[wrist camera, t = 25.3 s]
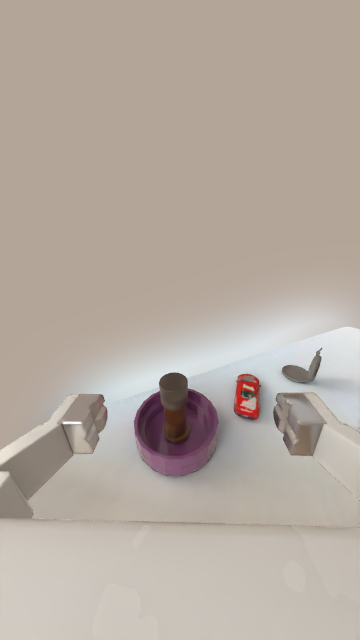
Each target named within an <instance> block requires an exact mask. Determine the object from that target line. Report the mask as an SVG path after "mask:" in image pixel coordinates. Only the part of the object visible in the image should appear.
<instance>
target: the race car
mask: <svg viewBox="0 0 360 640" xmlns="http://www.w3.org/2000/svg"><path fill="white" fill-rule="evenodd" d="M236 382H237V388H236V396H235V403H234V411H235V413H236V414H237V415H239V416H241V417H244V418H248V419H252V420H253V419H257V418H258V415H259V409H260V404H259V387H261V385H259V380H258V379H257V378H256V377H254V376H253V375H250V374H242V375H239V376H238V380H237V381H236Z"/></svg>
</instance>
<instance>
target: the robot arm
mask: <svg viewBox="0 0 360 640" xmlns="http://www.w3.org/2000/svg"><path fill="white" fill-rule="evenodd" d="M104 401H105V400H104V397H103V395H101V394H70V395H68V396H67V397H66V398H65V400H64V401H63V402H62V404H61V405H60V406H59V407H58V409H57V410H56V411H55V412H54V414H53V415H52V416H51V418H50V419H49V420H48V421H47V423H46V424H41V425H40V426H38V427H36V428H35V429H33V430H31V431H30V432H28V433H27V434H25V435H24V436H22V437H21V438H19V439H17V440H16V441H14V442H13V443H11V444H9V445H8V446H6V447H5V448H3V449H2V450H0V640H360V527H339V526H301V525H263V524H225V523H186V522H147V521H108V520H68V519H31V518H32V516H33V509H32V508H31V506H30V505H29V503H28V501H27V500H28V499H29V498H30V497H31V496H32V495H33V494H34V493H36V492H37V491H38V490H39V489H40V488H41V487H42V486H43V485H44V484H45V483H46V482H47V481H48V480H49V479H50V478H51V477H52V476H53V475H54V474H55V473H56V472H57V471H58V470H59V469H60V468H61V467H62V466H63V465H64V464H65V463H66V462H67V461H68V460H69V459H70V458H71V457H72V456H73V454H92V453H93V452H94V449H95V447H96V445H97V443H98V441H99V435H98V434H99V433H100V432H101V431H102V430H103V429H104V427H105V425H106V421H107V408H106V407H105V406H104V405H103V403H104ZM276 401H277V403H278V404H277V405H276V406H275V407H274V412H273V414H274V420H275V424H276V426H277V428H278V430H279V431H281V432H282V433H283V434H284V437H283V440H284V442H285V444H286V446H287V448H288V450H289V452H290V454H291V455H299V456H313V458H314V459H315V460H316V461H317V462H318V463H319V464H320V465H321V466H323V467H324V468H325V469H326V470H327V471H328V472H329V473H330V474H331V475H332V476H333V477H334V478H335V479H337V480H338V481H339V482H340V483H341V484H342V485H343V486H344V487H345V488H346V489H347V490H348V491H349V492H350V493H352V494H353V495H354V496H355V497H356V498H357V499H358V500H359V501H360V432H358V431H357V430H355V429H353V428H352V427H350V426H348V425H347V424H341V422H340V421H339V420H338V419H337V418H336V417H335V416H334V414H333V413H332V412H331V411H330V410H329V409H328V407H327V406H326V405H325V404H324V403H323V402H322V400H321V399H320V398H319V397H318V396H317V395H316V394H315V393H313V392H307V393H278V394H277V396H276Z"/></svg>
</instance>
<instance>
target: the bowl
mask: <svg viewBox="0 0 360 640" xmlns="http://www.w3.org/2000/svg"><path fill="white" fill-rule="evenodd" d="M186 420H187V421H188V423H189V426H190V434H189V437H188V439H187V440H186V441H185V442H183V443H181V444H177V445H175V444H170V443H169V442H167V441H166V440H165V438H164V436H163V425H164V423H165V415H164V407H163V405H162V404H161V397H160V391H159V392H157V393H155V394H153V395H151V396H150V397H149V398H148V399H146V400H145V401H144V402H143V403H142V405H141V406H140V408H139V409H138V411H137V414H136V417H135V420H134V429H135V437H136V443H137V448H138V451H139V453H140V455H141V457H142V459H143V461H144V462H145V463H146V464H147V465H148V466H150V467H151V468H152V469H153V470H154V471H157V472H159V473H162V474H164V475H167V476H183V475H186V474H189V473H191V472H194V471H197V470H198V469H199V468H201V467H202V466H203V465H204V464H205V463H207V462H208V461H209V459H210V457H211V456H212V454H213V452H214V451H215V447H216V442H217V435H218V418H217V412H216V410H215V408H214V406H213V405H212V403H211V401H209V400H208V399H207V398H206V397H205V396H204V395H203V394H201V393H199V392H197V391H195V390H192V389H188V402H187V404H186Z"/></svg>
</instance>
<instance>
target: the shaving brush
mask: <svg viewBox="0 0 360 640" xmlns="http://www.w3.org/2000/svg"><path fill="white" fill-rule="evenodd" d="M159 386H160V397H161V404H162V405H163V407H164V415H165V423H164V425H163V436H164V438H165V440H166V441H167V442H169V443H170V444H175V445H177V444H181V443H183V442H185V441H186V440H187V439H188V437H189V434H190V426H189V423H188V421H187V420H186V404H187V402H188V381H187V378H186V377H185V376H184V375H182V374H180V373H169V374H166V375H164V376H163V377H162V378H161V379H160V382H159Z"/></svg>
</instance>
